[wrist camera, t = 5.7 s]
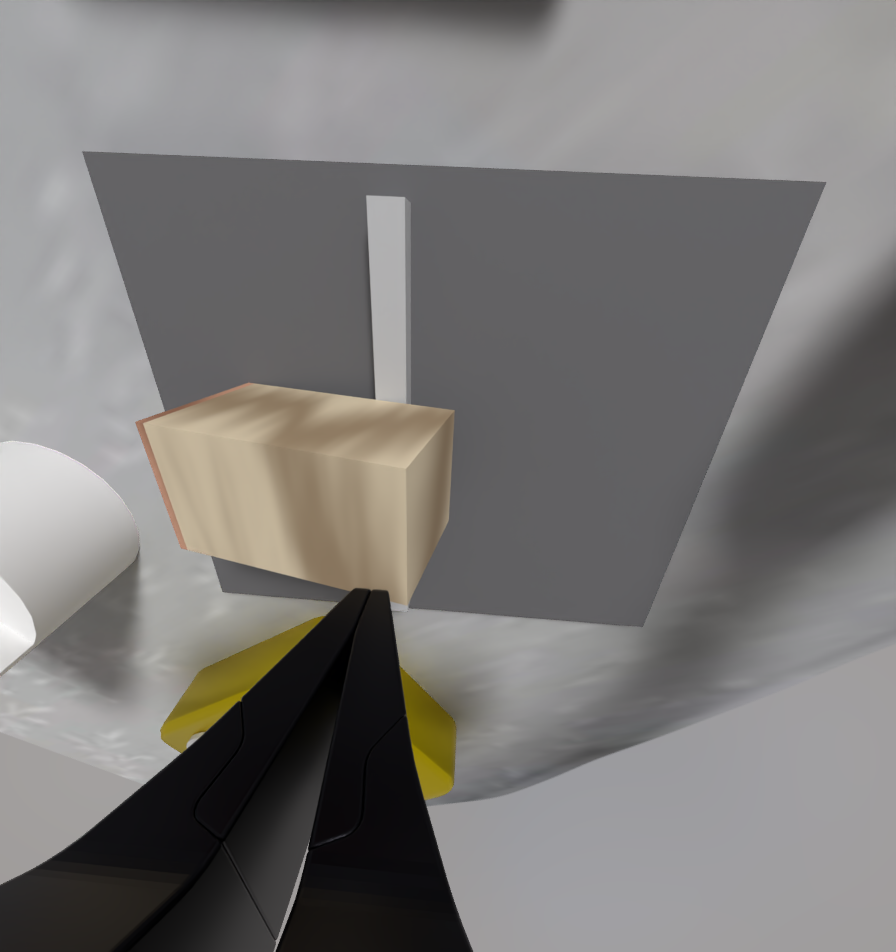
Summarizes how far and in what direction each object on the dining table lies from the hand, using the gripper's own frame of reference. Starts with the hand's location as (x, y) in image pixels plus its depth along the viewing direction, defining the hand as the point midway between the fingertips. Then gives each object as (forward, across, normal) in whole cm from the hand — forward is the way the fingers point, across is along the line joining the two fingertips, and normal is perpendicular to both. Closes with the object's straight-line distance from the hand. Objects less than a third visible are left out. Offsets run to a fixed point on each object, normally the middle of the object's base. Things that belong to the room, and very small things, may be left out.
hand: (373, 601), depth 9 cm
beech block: (+5, -1, 0) cm, 5 cm away
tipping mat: (+10, -1, 0) cm, 10 cm away
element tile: (+10, +7, +22) cm, 25 cm away
